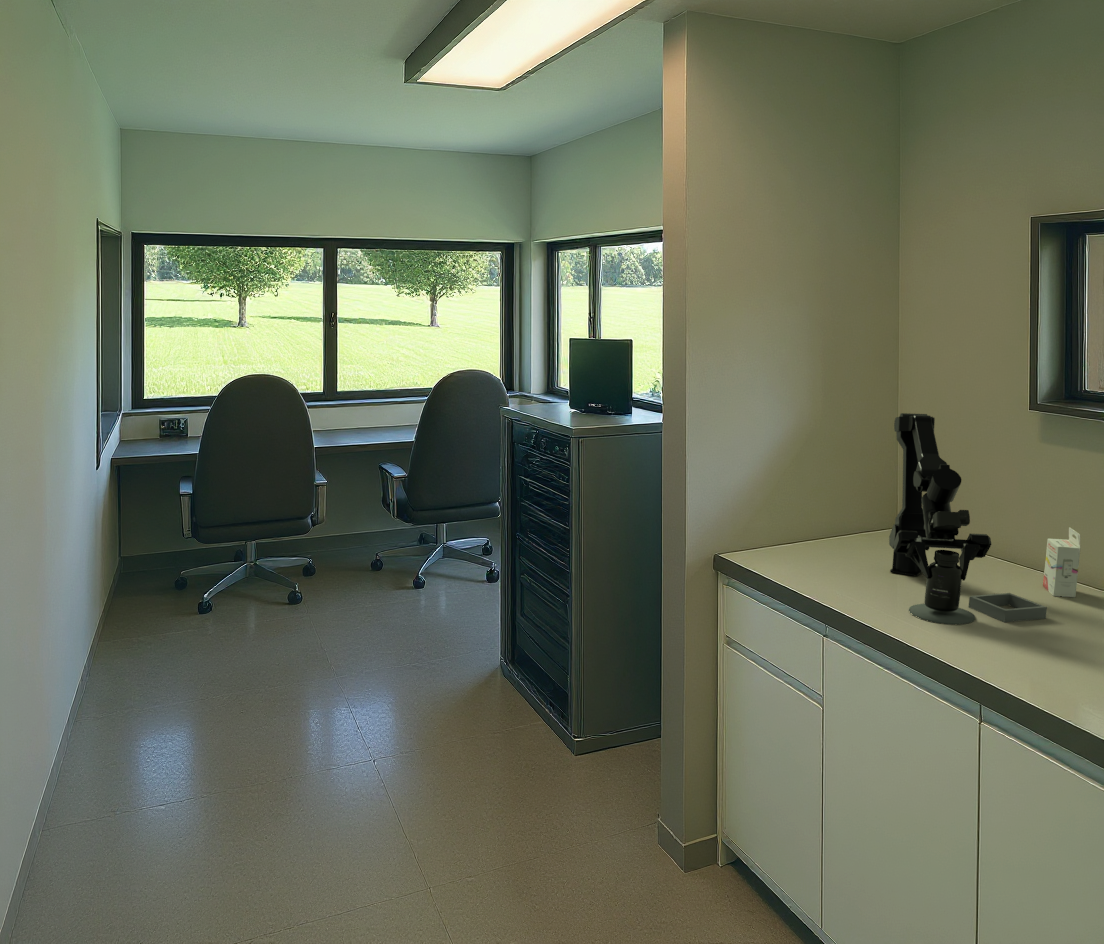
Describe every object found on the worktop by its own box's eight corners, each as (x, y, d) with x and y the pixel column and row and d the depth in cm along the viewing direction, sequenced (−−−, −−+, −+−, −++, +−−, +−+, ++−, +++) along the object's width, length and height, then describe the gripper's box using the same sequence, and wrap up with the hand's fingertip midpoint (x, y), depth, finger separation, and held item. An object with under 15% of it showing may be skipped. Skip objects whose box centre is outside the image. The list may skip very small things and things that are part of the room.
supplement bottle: (932, 612, 197) (937, 556, 195) (918, 602, 204) (923, 548, 202) (965, 612, 198) (970, 556, 196) (950, 602, 204) (955, 548, 202)
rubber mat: (901, 616, 199) (901, 614, 199) (917, 601, 210) (917, 600, 210) (967, 628, 192) (968, 626, 192) (980, 612, 203) (980, 611, 202)
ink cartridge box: (1041, 586, 224) (1047, 525, 222) (1064, 587, 223) (1070, 526, 221) (1052, 596, 216) (1059, 533, 213) (1076, 598, 215) (1083, 534, 212)
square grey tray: (968, 607, 206) (969, 596, 206) (1008, 603, 209) (1009, 592, 209) (1004, 622, 196) (1005, 610, 196) (1045, 618, 199) (1047, 607, 199)
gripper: (900, 493, 202) (907, 557, 193) (993, 497, 199) (1004, 561, 190) (890, 521, 211) (896, 583, 202) (978, 525, 208) (989, 588, 200)
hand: (946, 578), depth 198 cm, fingers closed on supplement bottle, 7 cm apart
